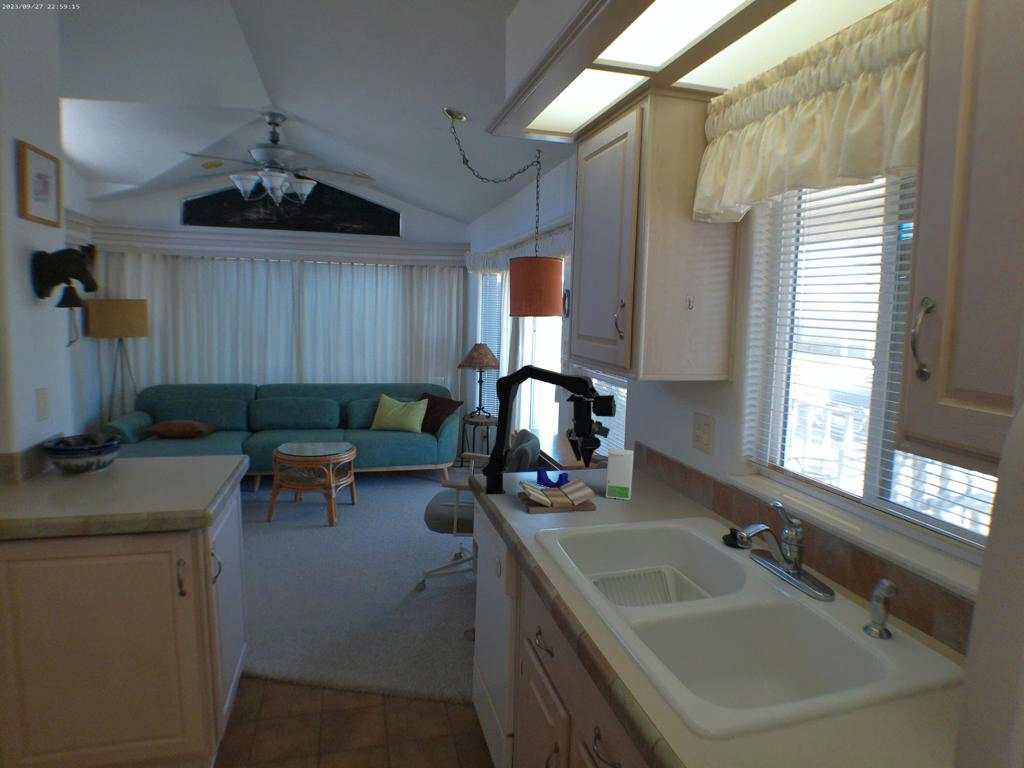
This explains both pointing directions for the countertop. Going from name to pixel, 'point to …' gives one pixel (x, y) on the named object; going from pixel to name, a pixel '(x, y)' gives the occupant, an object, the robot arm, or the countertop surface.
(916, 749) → the countertop surface
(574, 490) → the plank far
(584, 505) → the board
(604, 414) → the robot arm
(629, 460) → the skincare box
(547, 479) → the cable clip
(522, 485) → the plank near
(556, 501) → the mating strip
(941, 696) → the countertop surface
